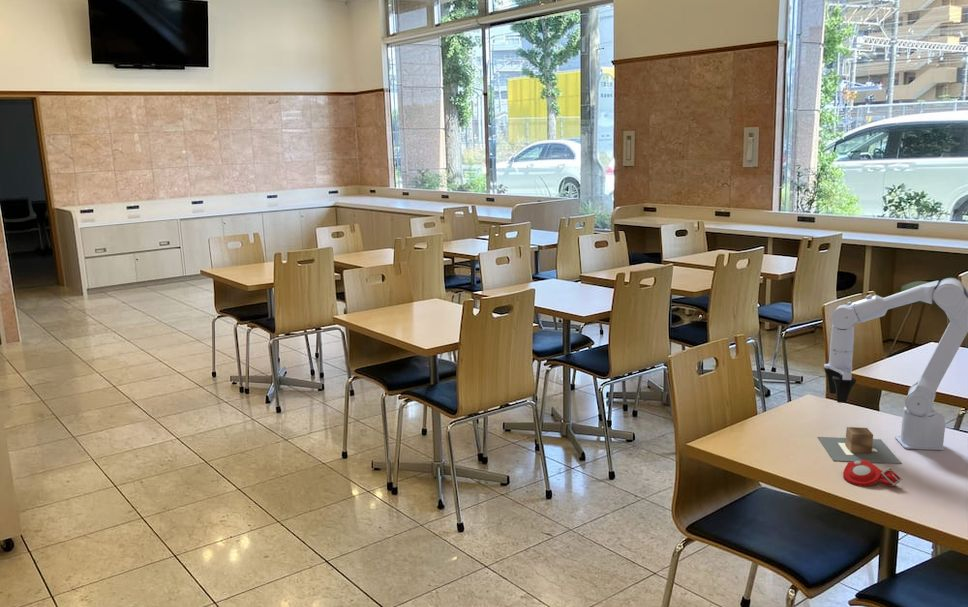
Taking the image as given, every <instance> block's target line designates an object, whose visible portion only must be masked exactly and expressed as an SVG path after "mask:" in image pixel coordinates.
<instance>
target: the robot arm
mask: <svg viewBox="0 0 968 607" xmlns="http://www.w3.org/2000/svg"><path fill="white" fill-rule="evenodd" d="M916 302H923V303H927V304H930V305H933V303H935V304H936V305H937V306H938V307H939V308H940V309H942V310H943V311H944V313H945V315H946V316H947V318H948V320H949V322H948V325H947V327H946V328H945V330H944V332H943V334H942V336H941V338H940V340H939V342H938V344H937V346H936V347H935V349H934V351H933V353H932V355H931V357H930V359H929V360H928V363H927V365H926V366H925V368H924V370H923V371H922V373H921V375H920V377H919V379H918V381H916V382H915V383H914V384H912V385H911V386H910V387H909V388H908V394H907V395H906V397H905V399H904V405H905V406H904V407H903V410H902V420H901V421H902V422H901V431H900V432H901V433H900V435H895V436H894V438H895V440H897V441H898V443H899V444H900V445H901V447H903V448H904V449H907V450H908V449H909V450H932V451H943V450H945V448H944V442H945V441H944V439H945V431H946V421H945V416H944V415H943V413H942V412H940V411H939V412H937V411H936V410H935V409H934V408H933V406H934V401H935V398H936V393H937V390H938V388H939V386H940V384H941V382H942V380H943V379H944V377H945V374H946V373H947V371H948V369H949V367H951V363H952V361H953V360H954V358H955V356H956V355H957V353H958V351H959V350H960V347H961V345H962V343H963V342H964V340H965V338H966V336H967V334H968V290H967V289H966V287H965V285H964V284H963V282H962V281H960V280H959V279H957V278H956V277H947V278H943V279H942V280H934V281H930V282H926V283H923V284H920V285H917V286H916V285H915V286H914V287H911V288H908V289H905V290H903V291H900V292H896V293H894V294H891V295H888V296H885V297H883V296H880V295H878V294H874V295H872V294H868V295H865V298H863V299H859V300H856V301H853V302H852V301H847V303H846V304H841V305H838V306H837V307H836V308H835V309H834V310H833V312H832V313H831V315H830V321H831V324H832V325H831V333H830V342H829V355H828V356H829V357H828V358H829V359H828V363H824V364H823V370H824V373H825V376H826V378H827V379H826V380H827V385H828V392H829V393H830V394H831V395H832V394H833V395H834V394H835V395H836V397H835V398H836V403H838V404H840V403H842V404H843V403H844V404H845V403H847V400H848V398H849V395H850V392H851V390H852V388H853V387H854V386H855V384H856V383H857V379H856V378H855V377H854V378H853V377H852V376H853V373H852V371H853V357H854V356H853V354H854V345H855V344H854V343H855V332H854V331H855V324H862V323H864V322H868V321H871V320H875V319H878V318H882V317H885V315H886V314H887V312H888V310H891V309H895V308H899V307H901V306H905V305H906V306H907V305H909V304H912V303H913V304H914V303H916Z"/></svg>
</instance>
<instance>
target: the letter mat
mask: <svg viewBox="0 0 968 607" xmlns="http://www.w3.org/2000/svg"><path fill="white" fill-rule="evenodd" d="M817 439H818V441H820V443H821V445H822V446H823V447H824V449H825V451H826V452H827V454H828V456H829V457H830V458H831V460H832V461H833V462H846V463H849V462H855V461H863V460H867V461H869V462H871V463H872V464H888V465H889V464H891V465H902V462H901V461H900V459H899V458H898V457H897V456H896V455H895V454H894V453H893V452H892V450H891V449H890V448H889V447H888V446H887V444H886V443H885V442H884V441H883V440H882V439H881V438H873V443H872V453H851V452H850V451H849V450H848V448H847V447H846V446H845V441H846V437H836V436H835V437H834V436H833V437H832V436H817Z"/></svg>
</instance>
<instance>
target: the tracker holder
mask: <svg viewBox="0 0 968 607" xmlns="http://www.w3.org/2000/svg"><path fill="white" fill-rule="evenodd" d="M842 477H843V480H845V481H846V482H847V483H849V484H852V485H853V486H859V487H868V486H872V485H874V484H876V483H878V482H879V483H881V484H884V485H885V486H889V487H894V486H896V485H898V483H900V482H902V481H903V478H902V476H900V475H899V474H898V473H897V472H896V471H894V470H893V468H891V467H887V468H886V469H885V470H882V469H880V468H879V467H878V466H876V465H875V463H871V462H869V461H867V460H863V461H855V462H847V464H846V466H845V467H844V469H843V474H842Z"/></svg>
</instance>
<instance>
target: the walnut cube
mask: <svg viewBox="0 0 968 607" xmlns="http://www.w3.org/2000/svg"><path fill="white" fill-rule="evenodd" d="M845 438H846V441H845V446H846V447H847V448H848V450H849V451H850V452H851V453H872V443H873V439H874V434H873V433H872V432H871V430H869V428H868V427H857V426H856V427H854V426H846V432H845Z"/></svg>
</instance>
